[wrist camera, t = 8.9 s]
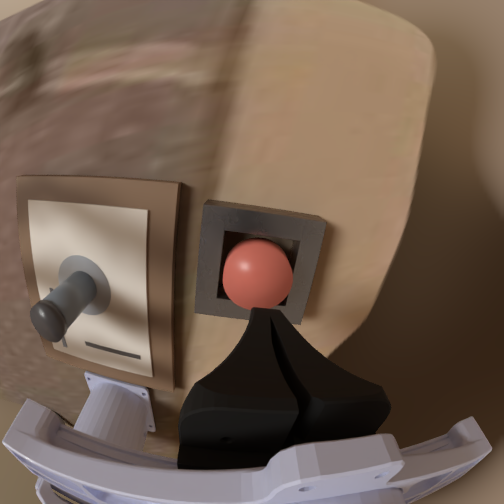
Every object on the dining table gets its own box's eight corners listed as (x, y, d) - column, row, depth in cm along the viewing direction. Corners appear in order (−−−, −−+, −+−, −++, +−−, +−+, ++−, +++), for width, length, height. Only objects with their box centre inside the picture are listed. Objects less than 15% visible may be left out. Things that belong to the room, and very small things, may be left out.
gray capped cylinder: (99, 304, 20) (66, 347, 14) (72, 298, 20) (36, 336, 14) (95, 272, 19) (56, 310, 13) (67, 267, 19) (26, 301, 13)
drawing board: (175, 385, 25) (173, 394, 24) (50, 350, 23) (45, 357, 22) (181, 182, 18) (177, 184, 17) (23, 175, 17) (14, 176, 16)
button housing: (296, 311, 22) (300, 324, 20) (198, 299, 21) (194, 312, 19) (318, 215, 19) (326, 222, 17) (207, 199, 19) (203, 204, 17)
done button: (281, 298, 20) (285, 313, 18) (221, 291, 19) (219, 306, 17) (293, 242, 18) (299, 252, 16) (228, 233, 18) (227, 242, 16)
